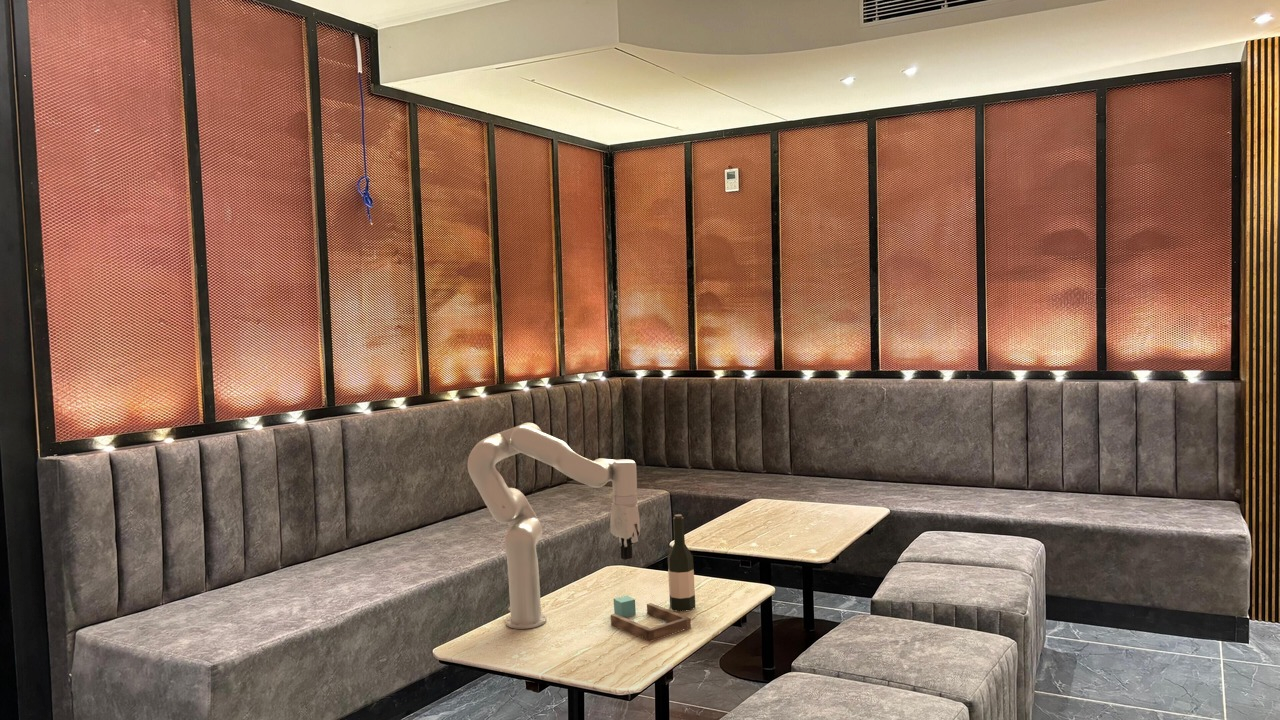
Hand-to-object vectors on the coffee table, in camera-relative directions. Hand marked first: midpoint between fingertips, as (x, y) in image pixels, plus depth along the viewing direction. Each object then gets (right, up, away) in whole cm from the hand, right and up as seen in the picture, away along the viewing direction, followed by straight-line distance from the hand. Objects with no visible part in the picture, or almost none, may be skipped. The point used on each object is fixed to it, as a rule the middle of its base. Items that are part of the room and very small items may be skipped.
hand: (626, 558), depth 271 cm
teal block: (-1, -20, +7) cm, 21 cm away
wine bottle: (+18, -19, +11) cm, 28 cm away
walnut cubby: (+7, -20, -4) cm, 21 cm away
